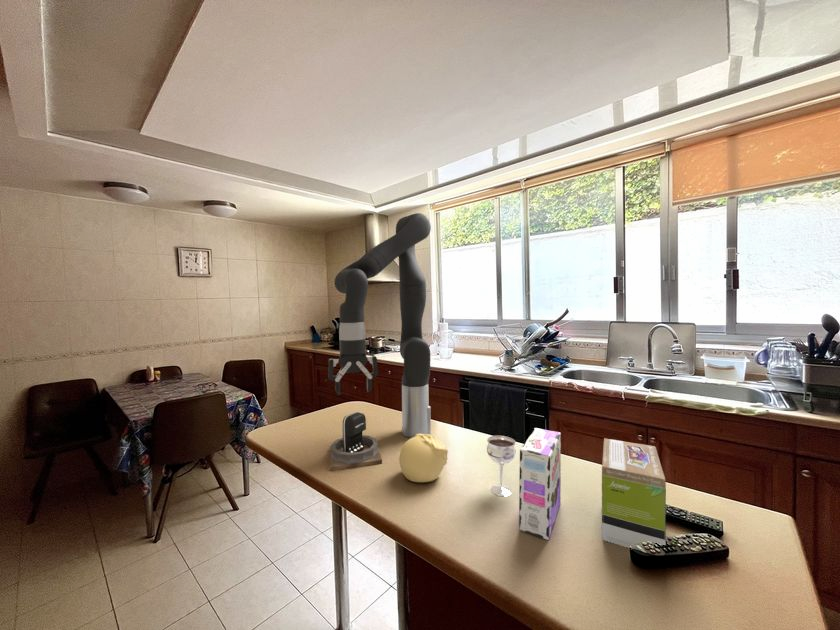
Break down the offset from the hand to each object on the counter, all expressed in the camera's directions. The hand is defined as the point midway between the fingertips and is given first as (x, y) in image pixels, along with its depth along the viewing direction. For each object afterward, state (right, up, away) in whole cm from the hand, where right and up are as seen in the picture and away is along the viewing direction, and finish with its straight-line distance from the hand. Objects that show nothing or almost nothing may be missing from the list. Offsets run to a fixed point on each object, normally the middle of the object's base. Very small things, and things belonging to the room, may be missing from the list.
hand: (353, 392), depth 97 cm
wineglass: (+39, -20, -18) cm, 47 cm away
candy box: (+45, -20, -28) cm, 56 cm away
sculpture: (+20, -20, -11) cm, 30 cm away
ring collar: (0, -19, +1) cm, 19 cm away
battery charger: (0, -18, +1) cm, 18 cm away
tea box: (+62, -20, -31) cm, 72 cm away
